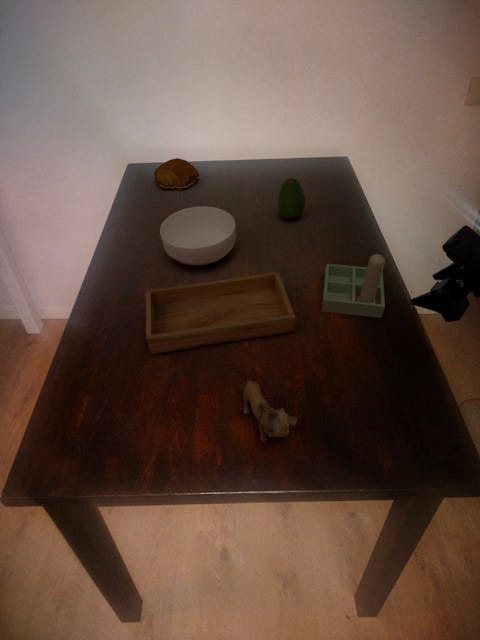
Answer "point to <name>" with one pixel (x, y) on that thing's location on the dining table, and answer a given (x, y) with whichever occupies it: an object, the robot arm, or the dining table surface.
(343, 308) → the grid
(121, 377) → the dining table surface
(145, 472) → the dining table surface
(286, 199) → the fruit
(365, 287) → the beige rounded cylinder
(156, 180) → the croissant
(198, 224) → the bowl
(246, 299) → the tray
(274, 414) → the lion figurine
